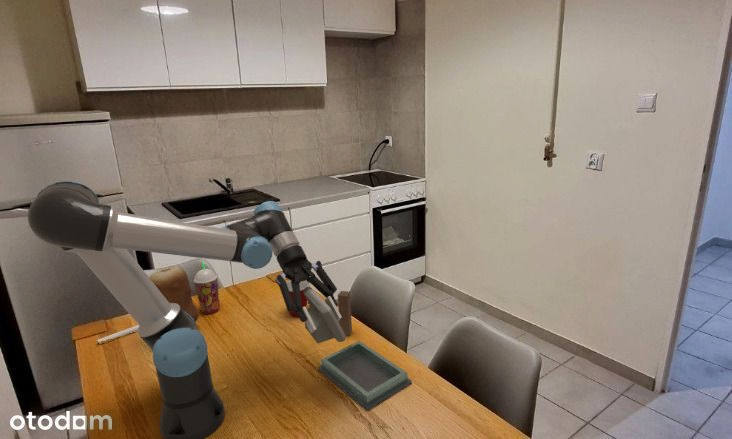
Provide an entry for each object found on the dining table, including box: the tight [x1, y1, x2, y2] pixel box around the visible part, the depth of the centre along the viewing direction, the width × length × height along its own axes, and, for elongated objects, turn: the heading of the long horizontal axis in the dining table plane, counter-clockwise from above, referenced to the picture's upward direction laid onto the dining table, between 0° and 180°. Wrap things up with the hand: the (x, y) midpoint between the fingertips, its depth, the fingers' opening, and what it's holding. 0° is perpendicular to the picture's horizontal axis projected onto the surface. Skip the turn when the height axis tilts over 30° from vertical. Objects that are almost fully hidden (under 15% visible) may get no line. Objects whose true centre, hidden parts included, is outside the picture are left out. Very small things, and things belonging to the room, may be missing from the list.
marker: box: [96, 324, 139, 342], centre depth 149 cm, size 18×2×2 cm, turn 134°
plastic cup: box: [286, 280, 311, 318], centre depth 157 cm, size 11×11×12 cm
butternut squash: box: [149, 265, 199, 323], centre depth 143 cm, size 14×13×25 cm
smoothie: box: [193, 261, 220, 315], centre depth 160 cm, size 8×8×20 cm
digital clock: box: [303, 286, 347, 344], centre depth 112 cm, size 16×9×11 cm, turn 17°
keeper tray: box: [317, 340, 413, 412], centre depth 121 cm, size 16×23×4 cm
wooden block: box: [337, 290, 353, 337], centre depth 142 cm, size 7×3×15 cm, turn 74°
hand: (326, 325), depth 110 cm, fingers closed on digital clock, 7 cm apart
